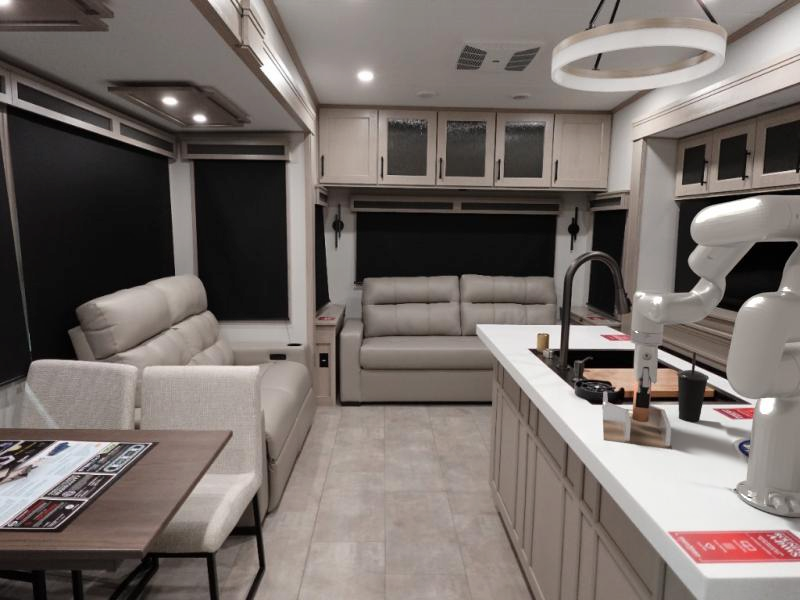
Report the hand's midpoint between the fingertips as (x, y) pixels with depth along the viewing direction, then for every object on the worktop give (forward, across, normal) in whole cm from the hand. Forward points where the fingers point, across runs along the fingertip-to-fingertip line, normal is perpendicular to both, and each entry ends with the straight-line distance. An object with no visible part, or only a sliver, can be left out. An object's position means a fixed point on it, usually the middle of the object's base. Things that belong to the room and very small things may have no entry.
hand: (641, 403), depth 138 cm
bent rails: (+7, 0, +2) cm, 8 cm away
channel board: (+7, 0, +2) cm, 8 cm away
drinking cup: (+8, +11, -13) cm, 19 cm away
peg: (+4, 0, 0) cm, 4 cm away
